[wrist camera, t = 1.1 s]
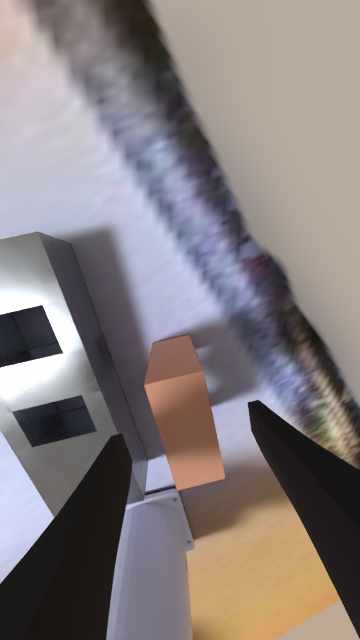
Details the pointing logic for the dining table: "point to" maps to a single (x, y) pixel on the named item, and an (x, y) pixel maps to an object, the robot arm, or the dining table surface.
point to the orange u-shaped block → (183, 412)
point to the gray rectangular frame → (58, 374)
